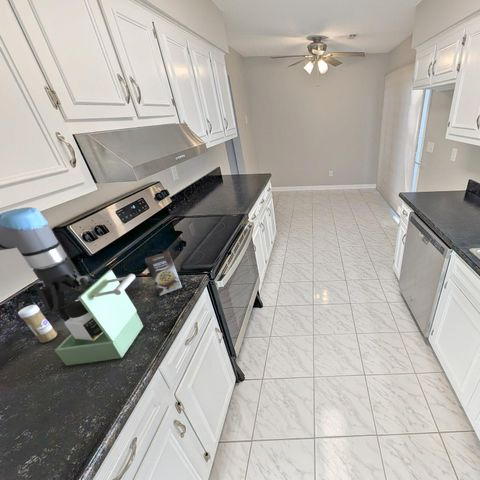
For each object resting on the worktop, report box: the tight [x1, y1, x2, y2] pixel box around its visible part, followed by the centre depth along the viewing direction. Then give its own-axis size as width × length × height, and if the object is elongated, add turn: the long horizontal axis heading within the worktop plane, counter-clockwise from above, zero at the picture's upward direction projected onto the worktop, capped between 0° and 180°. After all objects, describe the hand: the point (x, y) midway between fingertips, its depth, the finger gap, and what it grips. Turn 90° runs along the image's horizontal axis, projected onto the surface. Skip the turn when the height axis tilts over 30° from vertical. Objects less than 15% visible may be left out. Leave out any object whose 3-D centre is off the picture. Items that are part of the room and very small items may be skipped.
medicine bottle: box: [64, 298, 103, 340], centre depth 80 cm, size 7×7×12 cm
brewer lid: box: [77, 269, 137, 342], centre depth 79 cm, size 17×14×9 cm
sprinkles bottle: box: [17, 304, 58, 343], centre depth 87 cm, size 5×5×14 cm
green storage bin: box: [54, 311, 144, 366], centre depth 84 cm, size 17×14×7 cm
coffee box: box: [144, 251, 183, 296], centre depth 108 cm, size 9×6×16 cm
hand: (89, 322), depth 81 cm, fingers closed on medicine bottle, 8 cm apart
